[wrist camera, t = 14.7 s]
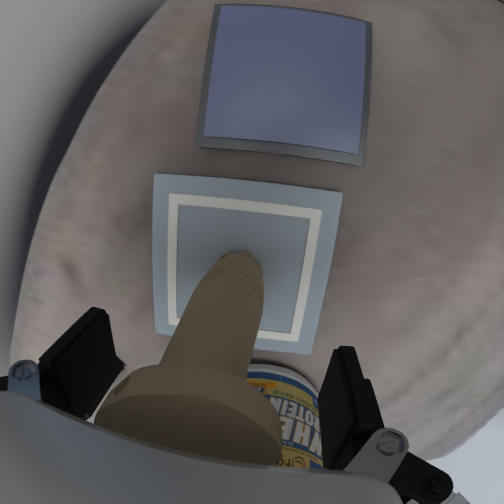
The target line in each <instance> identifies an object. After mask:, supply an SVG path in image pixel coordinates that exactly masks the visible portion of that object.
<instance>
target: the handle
mask: <svg viewBox="0 0 504 504" xmlns="http://www.w3.org/2000/svg"><path fill="white" fill-rule="evenodd" d="M262 275H263V268H262V265H261V263H258V262H257V261H256V260H255V259H254V258H253V256H252V253H251V252H250V251H248V250H244V251H242V252H238V253H231V252H226V253H225V254H223V255H222V256H221V257H220V258H219V259H218V261H217V262H216V263H215V264H214V265H213V266H212V267H211V268H210V269H209V270H208V272H207V273H206V274H205V275H204V277H203V278H202V279H201V281H200V282H199V284H198V285H197V287H196V288H195V290H194V291H193V293H192V295H191V297H190V299H189V301H188V304H187V306H186V308H185V310H184V312H183V314H182V317H181V319H180V321H179V323H178V325H177V328H176V330H175V332H174V334H173V336H172V338H171V340H170V342H169V345H168V347H167V349H166V351H165V353H164V355H163V357H162V360H161V362H160V364H159V365H152V366H147V367H142V368H139V369H137V370H135V371H133V372H131V373H130V374H129V375H128V376H127V377H126V378H125V379H123V380H122V381H121V382H120V383H119V384H118V385H117V386H116V387H114V388H113V389H112V390H111V391H110V393H109V394H108V396H107V397H106V399H105V400H104V402H103V404H102V405H101V407H100V409H99V410H98V412H97V414H96V417H95V419H94V424H95V425H98V426H101V427H103V428H106V429H109V430H112V431H114V432H117V433H120V434H123V435H126V436H129V437H132V438H135V439H139V440H142V441H145V442H149V443H152V444H156V445H159V446H163V447H167V448H171V449H175V450H179V451H183V452H188V453H192V454H197V455H202V456H207V457H213V458H218V459H224V460H230V461H237V462H245V463H253V464H262V465H272V466H273V465H274V464H275V463H277V462H278V461H279V460H280V459H281V458H282V425H281V420H280V417H279V414H278V412H277V410H276V409H275V407H274V406H273V404H272V403H271V402H270V401H269V400H268V399H267V398H266V397H265V396H264V395H263V394H262V393H261V392H260V391H259V390H257V389H256V388H255V387H253V386H252V385H251V384H250V383H248V382H247V381H245V380H246V376H247V372H248V368H249V364H250V360H251V356H252V352H253V349H254V345H255V341H256V337H257V334H258V330H259V326H260V322H261V318H262V313H263V305H264V283H263V277H262Z"/></svg>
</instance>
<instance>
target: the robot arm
mask: <svg viewBox="0 0 504 504" xmlns="http://www.w3.org/2000/svg"><path fill="white" fill-rule="evenodd" d="M501 1H503V2H504V0H501ZM39 361H40V362H39V363H38V365H37V364H36V363H35V362H34V361H32V360H20V361H18V362H16V363H14V364H13V365H12V366H11V368H10V369H9V373H8V376H4V377H0V504H470V503H469V502H468V501H467V500H466V499H465V498H464V497H463V496H462V495H461V494H460V493H459V492H458V493H457V494H455V493H454V492H453V491H452V490H453V482H452V479H451V478H450V476H449V475H448V474H447V473H445V472H444V471H441V470H440V469H438V468H436V467H435V466H433V465H431V464H429V463H427V462H426V461H424V460H422V459H420V458H419V457H417V456H415V455H413V454H412V453H410V452H408V448H409V442H408V440H407V438H406V436H405V435H404V434H403V433H401V432H400V431H398V430H396V429H393V428H385V427H384V424H383V420H382V417H381V413H380V410H379V407H378V403H377V400H376V397H375V393H374V390H373V387H372V384H371V381H370V380H369V379H364V377H363V374H362V370H361V367H360V364H359V361H358V357H357V354H356V351H355V348H354V347H352V346H339V348H338V349H334V351H333V354H332V357H331V360H330V363H329V366H328V369H327V372H326V375H325V378H324V381H323V384H322V387H321V390H320V393H319V396H318V412H319V423H320V434H321V446H322V460H323V468H324V469H316V468H298V467H283V466H272V465H262V464H253V463H245V462H237V461H230V460H224V459H218V458H213V457H207V456H202V455H197V454H192V453H188V452H183V451H179V450H175V449H171V448H167V447H163V446H159V445H156V444H152V443H149V442H145V441H142V440H139V439H135V438H132V437H129V436H126V435H123V434H120V433H117V432H114V431H112V430H109V429H106V428H103V427H101V426H98V425H95V424H93V423H90V422H88V421H85V420H83V419H82V418H83V417H84V415H85V414H86V412H87V411H88V409H89V408H90V406H91V405H92V403H93V402H94V400H95V399H96V397H97V396H98V394H99V393H100V391H101V390H102V388H103V387H104V385H105V384H106V382H107V381H108V379H109V378H110V376H111V375H112V374H113V372H114V371H115V369H116V367H117V358H116V353H115V348H114V343H113V337H112V331H111V325H110V319H109V315H108V314H107V313H106V311H105V310H104V309H100V308H96V307H91V308H90V309H89V310H88V311H87V312H86V313H85V314H84V315H83V316H82V317H81V318H79V319H78V320H77V321H76V322H75V323H74V324H73V325H72V326H71V327H70V328H69V329H68V330H67V331H66V332H65V333H64V334H63V335H62V336H61V337H60V338H59V339H58V340H57V341H56V342H55V343H54V344H53V345H52V346H51V347H50V348H49V349H48V350H47V351H46V352H45V353H44V354H43V355H42V356H41V357H40V358H39Z"/></svg>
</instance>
